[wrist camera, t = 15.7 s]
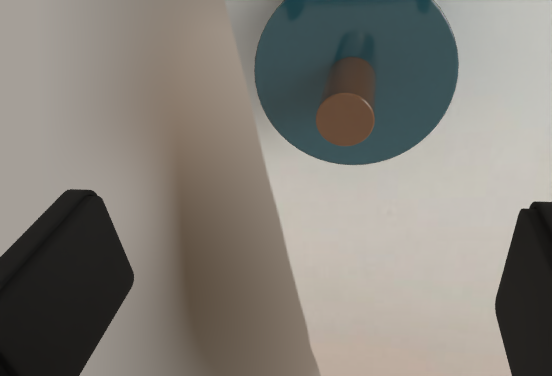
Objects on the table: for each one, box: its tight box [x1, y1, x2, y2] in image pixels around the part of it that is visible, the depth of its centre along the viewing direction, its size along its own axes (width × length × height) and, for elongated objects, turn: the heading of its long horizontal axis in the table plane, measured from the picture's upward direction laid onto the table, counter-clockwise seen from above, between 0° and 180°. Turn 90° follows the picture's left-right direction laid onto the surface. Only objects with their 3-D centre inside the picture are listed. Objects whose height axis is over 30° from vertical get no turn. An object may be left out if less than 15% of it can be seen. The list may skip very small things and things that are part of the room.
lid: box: [255, 0, 459, 165], centre depth 20 cm, size 10×10×6 cm
